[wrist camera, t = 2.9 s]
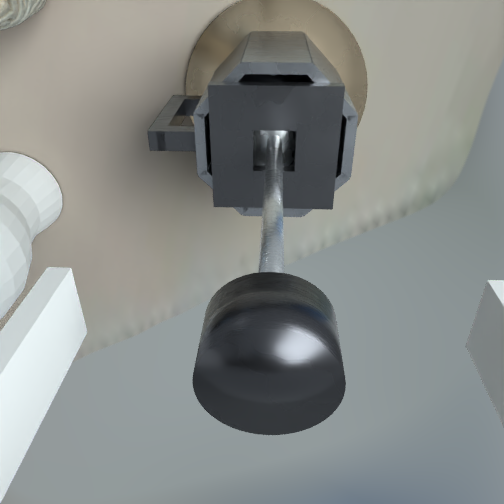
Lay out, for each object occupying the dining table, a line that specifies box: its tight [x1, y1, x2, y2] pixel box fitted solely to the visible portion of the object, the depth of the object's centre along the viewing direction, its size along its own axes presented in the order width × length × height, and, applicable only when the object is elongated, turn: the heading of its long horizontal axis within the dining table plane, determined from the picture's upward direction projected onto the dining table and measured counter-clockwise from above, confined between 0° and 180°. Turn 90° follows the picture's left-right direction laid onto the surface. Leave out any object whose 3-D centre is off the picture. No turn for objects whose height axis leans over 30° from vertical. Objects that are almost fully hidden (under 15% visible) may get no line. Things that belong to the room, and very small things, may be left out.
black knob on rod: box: [193, 130, 346, 435], centre depth 20 cm, size 6×6×19 cm
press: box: [148, 0, 367, 217], centre depth 32 cm, size 14×14×12 cm
